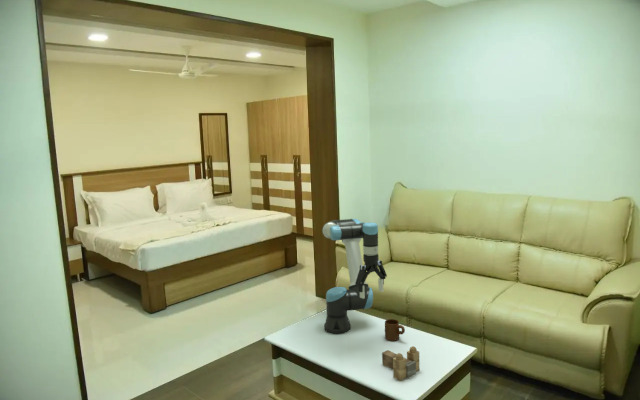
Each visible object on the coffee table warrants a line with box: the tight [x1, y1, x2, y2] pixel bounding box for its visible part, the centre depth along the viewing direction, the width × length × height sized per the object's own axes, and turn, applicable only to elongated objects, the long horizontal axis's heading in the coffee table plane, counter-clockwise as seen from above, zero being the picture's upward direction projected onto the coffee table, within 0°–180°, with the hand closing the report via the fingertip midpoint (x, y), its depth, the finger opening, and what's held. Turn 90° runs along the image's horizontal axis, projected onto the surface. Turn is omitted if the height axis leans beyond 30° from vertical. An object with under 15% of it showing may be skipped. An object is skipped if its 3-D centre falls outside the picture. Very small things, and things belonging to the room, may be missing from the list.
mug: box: [384, 318, 406, 342], centre depth 235 cm, size 12×8×9 cm, turn 43°
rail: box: [381, 350, 412, 370], centre depth 206 cm, size 15×4×6 cm, turn 39°
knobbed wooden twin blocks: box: [392, 345, 420, 382], centre depth 201 cm, size 5×14×11 cm, turn 129°
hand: (371, 294), depth 224 cm, fingers open, 13 cm apart
